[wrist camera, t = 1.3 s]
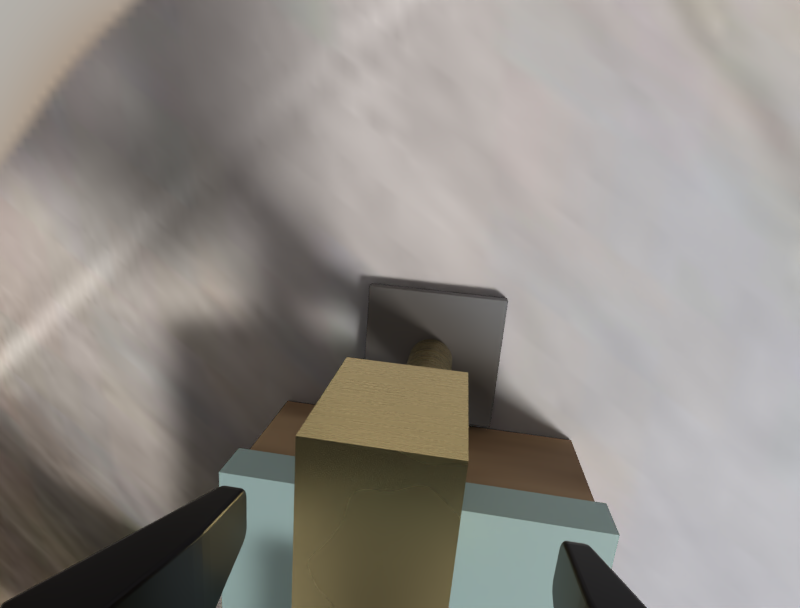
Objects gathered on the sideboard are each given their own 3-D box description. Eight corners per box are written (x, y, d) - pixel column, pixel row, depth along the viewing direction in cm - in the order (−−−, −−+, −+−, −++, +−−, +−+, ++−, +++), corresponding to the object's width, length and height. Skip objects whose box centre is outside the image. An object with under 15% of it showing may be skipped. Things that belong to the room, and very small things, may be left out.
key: (445, 469, 17) (408, 960, 6) (394, 461, 17) (276, 926, 7) (471, 256, 15) (479, 462, 4) (412, 250, 15) (285, 434, 5)
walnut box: (526, 663, 19) (539, 766, 16) (283, 617, 20) (247, 705, 17) (597, 308, 15) (633, 346, 12) (290, 274, 16) (244, 301, 13)
